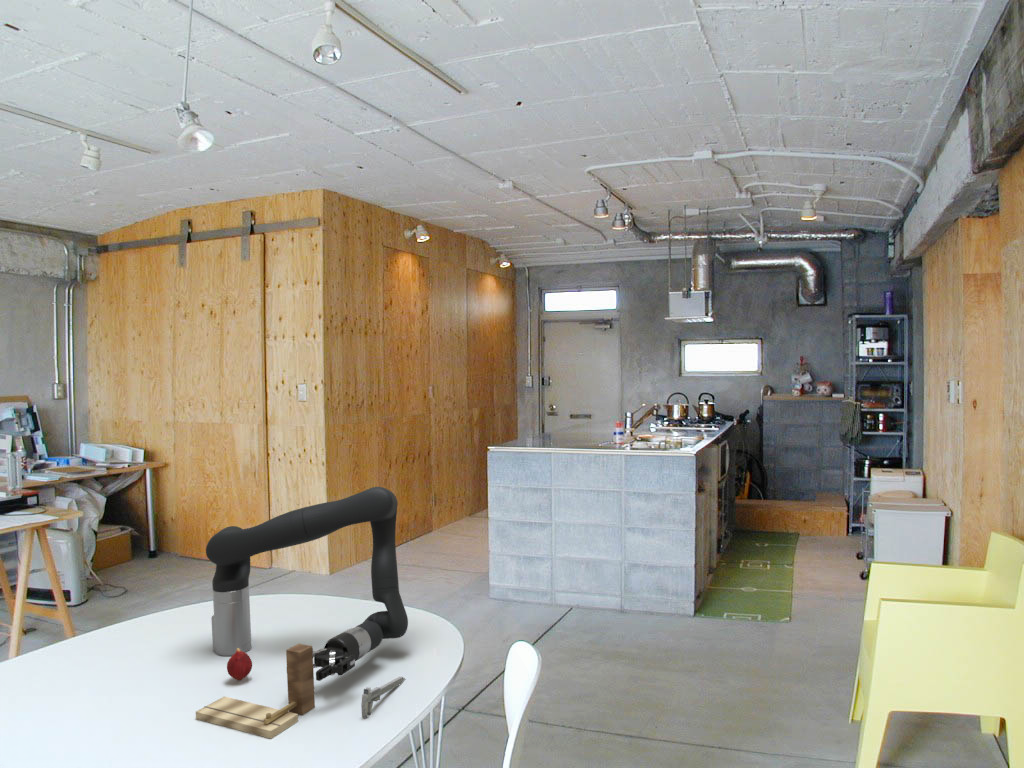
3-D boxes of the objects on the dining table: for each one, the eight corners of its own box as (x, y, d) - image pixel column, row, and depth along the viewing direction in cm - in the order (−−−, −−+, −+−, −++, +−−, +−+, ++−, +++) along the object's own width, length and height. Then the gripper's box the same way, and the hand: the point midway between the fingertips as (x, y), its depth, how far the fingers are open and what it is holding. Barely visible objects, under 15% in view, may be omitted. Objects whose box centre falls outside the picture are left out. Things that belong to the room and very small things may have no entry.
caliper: (366, 720, 163) (365, 691, 163) (361, 719, 163) (360, 691, 163) (405, 680, 182) (404, 654, 182) (401, 679, 183) (400, 654, 183)
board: (196, 718, 165) (195, 711, 165) (224, 703, 173) (224, 696, 172) (271, 738, 156) (270, 730, 156) (298, 721, 163) (297, 713, 163)
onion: (257, 677, 186) (256, 645, 186) (242, 687, 181) (240, 654, 181) (238, 674, 188) (236, 643, 188) (222, 684, 183) (221, 651, 183)
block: (258, 730, 159) (255, 665, 159) (301, 704, 171) (298, 643, 170) (272, 734, 157) (270, 668, 157) (314, 707, 169) (312, 646, 168)
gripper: (324, 628, 186) (277, 652, 171) (371, 636, 180) (326, 661, 165) (325, 658, 186) (278, 684, 172) (372, 666, 180) (328, 695, 165)
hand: (302, 673), depth 168 cm, fingers open, 8 cm apart
